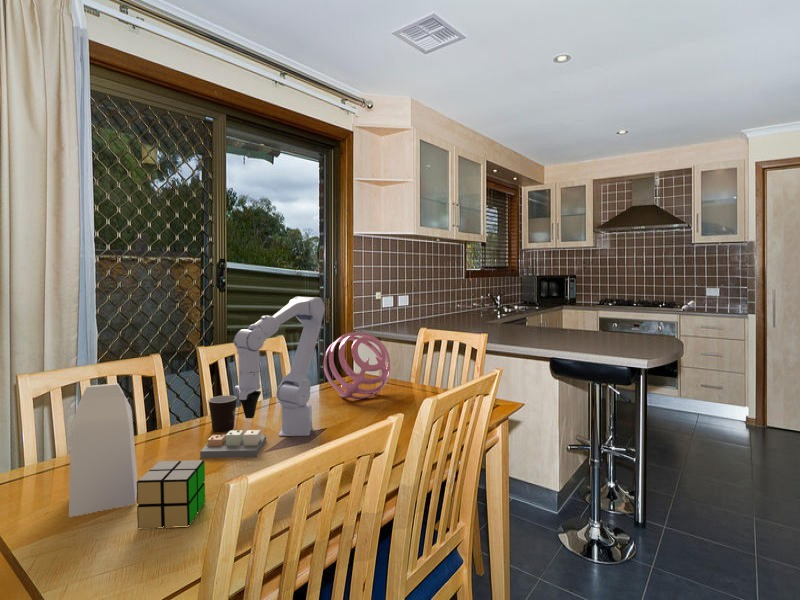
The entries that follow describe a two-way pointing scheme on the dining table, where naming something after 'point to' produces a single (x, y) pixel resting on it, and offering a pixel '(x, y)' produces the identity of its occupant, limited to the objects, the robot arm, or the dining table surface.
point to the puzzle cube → (171, 494)
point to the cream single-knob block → (252, 437)
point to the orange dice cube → (217, 440)
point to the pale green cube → (234, 438)
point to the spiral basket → (363, 365)
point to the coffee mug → (222, 413)
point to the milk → (102, 452)
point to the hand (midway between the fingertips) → (249, 417)
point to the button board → (233, 450)
